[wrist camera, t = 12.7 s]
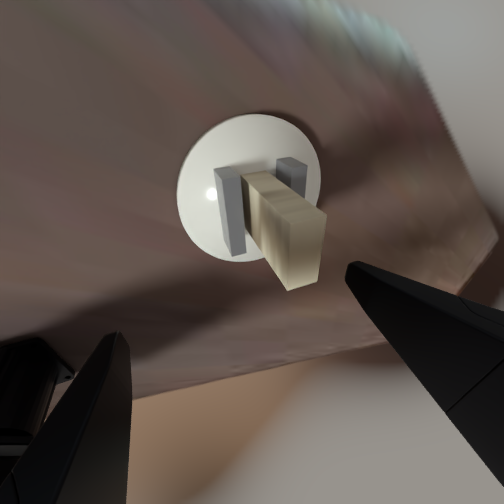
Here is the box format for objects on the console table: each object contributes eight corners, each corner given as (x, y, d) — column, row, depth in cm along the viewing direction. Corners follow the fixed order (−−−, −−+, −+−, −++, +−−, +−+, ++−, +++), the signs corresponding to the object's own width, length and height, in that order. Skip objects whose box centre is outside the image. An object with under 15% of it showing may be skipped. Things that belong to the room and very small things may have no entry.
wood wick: (266, 222, 20) (317, 281, 14) (244, 227, 20) (287, 290, 14) (265, 170, 18) (327, 215, 11) (240, 174, 17) (290, 223, 11)
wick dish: (307, 239, 24) (327, 258, 22) (194, 269, 22) (200, 295, 19) (322, 105, 17) (353, 109, 15) (155, 123, 14) (156, 131, 12)
